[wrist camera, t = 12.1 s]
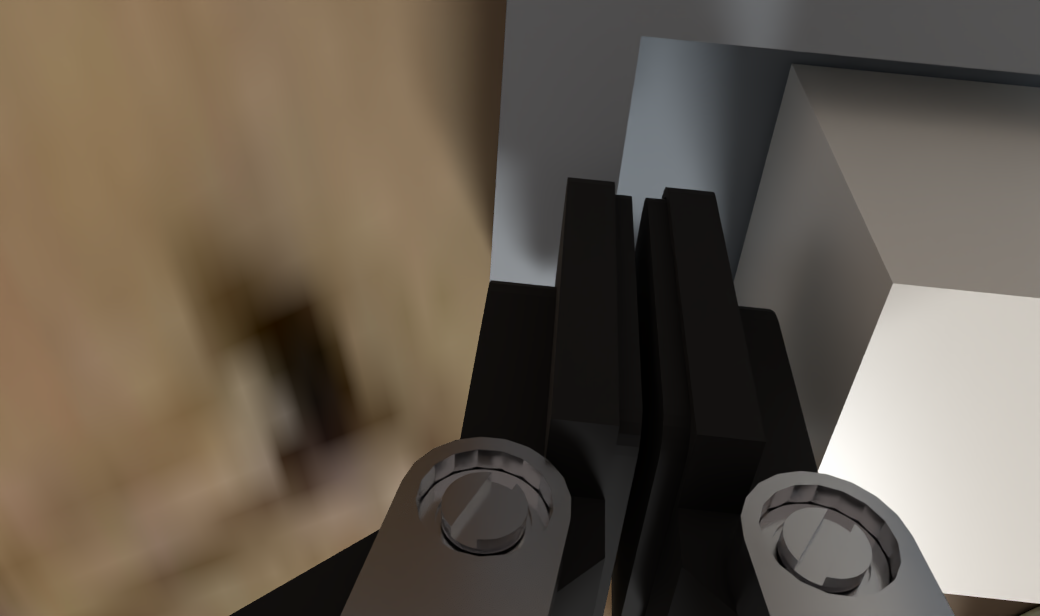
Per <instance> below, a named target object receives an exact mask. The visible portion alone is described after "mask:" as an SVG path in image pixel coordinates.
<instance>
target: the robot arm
mask: <svg viewBox="0 0 1040 616" xmlns="http://www.w3.org/2000/svg"><path fill="white" fill-rule="evenodd" d="M611 577H612V616H955V615H954V613H953V611H952V609H951V607H950V606H949V604H948V602H947V600H946V598H945V596H944V594H943V592H942V590H941V589H940V587H939V585H938V583H937V581H936V579H935V577H934V575H933V573H932V571H931V570H930V568H929V566H928V564H927V562H926V560H925V558H924V556H923V554H922V553H921V551H920V549H919V547H918V545H917V543H916V541H915V539H914V537H913V536H912V534H911V533H910V531H909V530H908V529H907V527H906V526H905V524H904V523H903V522H902V520H901V519H900V517H899V516H898V515H897V514H896V513H895V512H894V511H893V510H892V509H890V508H889V507H888V506H887V505H886V504H885V503H884V502H882V501H881V500H880V499H879V498H878V497H877V496H875V495H873V494H871V493H870V492H868V491H866V490H864V489H863V488H861V487H859V486H857V485H856V484H854V483H852V482H849V481H846V480H843V479H840V478H837V477H834V476H831V475H828V474H823V473H818V469H817V466H816V462H815V458H814V454H813V450H812V447H811V443H810V439H809V435H808V431H807V428H806V424H805V420H804V416H803V412H802V408H801V405H800V401H799V397H798V393H797V389H796V386H795V382H794V378H793V374H792V370H791V366H790V363H789V359H788V355H787V351H786V347H785V344H784V340H783V336H782V332H781V328H780V324H779V321H778V318H777V316H776V313H775V312H774V311H773V310H771V309H765V308H755V307H745V306H738V302H737V297H736V292H735V287H734V283H733V278H732V273H731V268H730V263H729V258H728V253H727V249H726V244H725V239H724V234H723V229H722V224H721V219H720V215H719V210H718V205H717V200H716V196H715V193H714V192H710V191H701V190H691V189H681V188H671V187H665V189H664V192H663V195H662V199H656V198H646V199H645V201H644V205H643V209H642V215H641V220H640V226H639V231H638V237H637V243H636V248H635V245H634V225H633V205H632V196H626V195H616V194H615V182H612V181H602V180H592V179H582V178H572V177H568V179H567V186H566V194H565V202H564V211H563V219H562V228H561V236H560V245H559V253H558V262H557V271H556V279H555V287H553V286H543V285H533V284H524V283H514V282H504V281H495V280H491V281H490V283H489V288H488V293H487V298H486V303H485V309H484V314H483V319H482V325H481V330H480V336H479V341H478V346H477V352H476V357H475V363H474V368H473V373H472V379H471V384H470V389H469V395H468V400H467V406H466V411H465V416H464V422H463V427H462V433H461V438H460V439H459V440H454V441H452V442H449V443H446V444H444V445H441V446H439V447H436V448H433V449H432V450H431V451H429V452H428V453H427V454H425V455H424V456H423V457H421V458H420V459H419V460H417V461H416V462H414V464H413V465H412V467H411V468H410V470H409V471H408V473H407V474H406V475H405V477H404V478H403V480H402V482H401V484H400V486H399V488H398V490H397V492H396V495H395V497H394V499H393V501H392V503H391V506H390V508H389V510H388V512H387V514H386V517H385V519H384V521H383V523H382V525H381V528H380V529H379V530H377V531H376V532H374V533H372V534H371V535H369V536H367V537H365V538H364V539H362V540H360V541H358V542H357V543H355V544H353V545H351V546H350V547H348V548H346V549H344V550H343V551H341V552H339V553H337V554H336V555H334V556H332V557H331V558H329V559H327V560H325V561H324V562H322V563H320V564H318V565H317V566H315V567H313V568H311V569H310V570H308V571H306V572H304V573H303V574H301V575H299V576H297V577H296V578H294V579H292V580H290V581H289V582H287V583H285V584H284V585H282V586H280V587H278V588H277V589H275V590H273V591H271V592H270V593H268V594H266V595H264V596H263V597H261V598H259V599H257V600H256V601H254V602H252V603H250V604H249V605H247V606H245V607H244V608H242V609H240V610H238V611H237V612H235V613H233V614H231V615H230V616H603V613H604V609H605V604H606V600H607V595H608V590H609V586H610V581H611Z"/></svg>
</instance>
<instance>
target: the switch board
mask: <svg viewBox="0 0 1040 616" xmlns="http://www.w3.org/2000/svg"><path fill="white" fill-rule="evenodd" d="M791 64H801V65H812V66H822V67H832V68H843V69H853V70H863V71H873V72H884V73H894V74H904V75H915V76H925V77H935V78H946V79H956V80H966V81H976V82H987V83H997V84H1007V85H1018V86H1028V87H1038V88H1040V0H507V9H506V25H505V41H504V58H503V74H502V91H501V107H500V124H499V140H498V156H497V173H496V189H495V206H494V222H493V239H492V255H491V271H490V281H491V280H495V281H504V282H514V283H524V284H533V285H543V286H553V287H555V279H556V271H557V262H558V253H559V245H560V236H561V228H562V219H563V211H564V202H565V194H566V186H567V179H568V177H572V178H582V179H592V180H602V181H612V182H615V194H616V195H626V196H632V205H633V225H634V245H635V248H636V243H637V237H638V231H639V226H640V220H641V215H642V209H643V205H644V201H645V199H646V198H656V199H662V195H663V192H664V189H665V187H671V188H681V189H691V190H701V191H710V192H714V193H715V196H716V200H717V205H718V210H719V215H720V219H721V224H722V229H723V234H724V239H725V244H726V249H727V253H728V258H729V263H730V268H731V273H732V278H733V282H734V279H735V275H736V271H737V267H738V264H739V260H740V256H741V252H742V248H743V245H744V241H745V237H746V233H747V230H748V226H749V222H750V218H751V215H752V211H753V207H754V203H755V200H756V196H757V192H758V188H759V185H760V181H761V177H762V173H763V169H764V166H765V162H766V158H767V154H768V151H769V147H770V143H771V139H772V136H773V132H774V128H775V124H776V121H777V117H778V113H779V109H780V106H781V102H782V98H783V94H784V91H785V87H786V83H787V79H788V75H789V72H790V68H791Z"/></svg>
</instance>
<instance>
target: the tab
mask: <svg viewBox="0 0 1040 616" xmlns="http://www.w3.org/2000/svg"><path fill="white" fill-rule="evenodd" d="M733 283H734V287H735V292H736V297H737V302H738V306H745V307H755V308H765V309H771V310H773V311H774V312H775V313H776V316H777V318H778V321H779V324H780V328H781V332H782V336H783V340H784V344H785V347H786V351H787V355H788V359H789V363H790V366H791V370H792V374H793V378H794V382H795V386H796V389H797V393H798V397H799V401H800V405H801V408H802V412H803V416H804V420H805V424H806V428H807V431H808V435H809V439H810V443H811V447H812V450H813V454H814V458H815V462H816V466H817V469H818V473H823V474H828V475H831V476H834V477H837V478H840V479H843V480H846V481H849V482H852V483H854V484H856V485H857V486H859V487H861V488H863V489H864V490H866V491H868V492H870V493H871V494H873V495H875V496H877V497H878V498H879V499H880V500H881V501H882V502H884V503H885V504H886V505H887V506H888V507H889V508H890V509H892V510H893V511H894V512H895V513H896V514H897V515H898V516H899V517H900V519H901V520H902V522H903V523H904V524H905V526H906V527H907V529H908V530H909V531H910V533H911V534H912V536H913V537H914V539H915V541H916V543H917V545H918V547H919V549H920V551H921V553H922V554H923V556H924V558H925V560H926V562H927V564H928V566H929V568H930V570H931V571H932V573H933V575H934V577H935V579H936V581H937V583H938V585H939V587H940V589H941V590H942V592H943V593H946V594H956V595H965V596H974V597H983V598H992V599H1001V600H1011V601H1020V602H1029V603H1038V604H1040V88H1038V87H1028V86H1018V85H1007V84H997V83H987V82H976V81H966V80H956V79H946V78H935V77H925V76H915V75H904V74H894V73H884V72H873V71H863V70H853V69H843V68H832V67H822V66H812V65H801V64H791V68H790V72H789V75H788V79H787V83H786V87H785V91H784V94H783V98H782V102H781V106H780V109H779V113H778V117H777V121H776V124H775V128H774V132H773V136H772V139H771V143H770V147H769V151H768V154H767V158H766V162H765V166H764V169H763V173H762V177H761V181H760V185H759V188H758V192H757V196H756V200H755V203H754V207H753V211H752V215H751V218H750V222H749V226H748V230H747V233H746V237H745V241H744V245H743V248H742V252H741V256H740V260H739V264H738V267H737V271H736V275H735V279H734V282H733Z"/></svg>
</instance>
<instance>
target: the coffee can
mask: <svg viewBox="0 0 1040 616" xmlns="http://www.w3.org/2000/svg"><path fill="white" fill-rule="evenodd" d="M1020 616H1040V606H1038V607H1036V608H1034V609H1032V610H1030V611H1028V612H1026V613H1024V614H1022V615H1020Z"/></svg>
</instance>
